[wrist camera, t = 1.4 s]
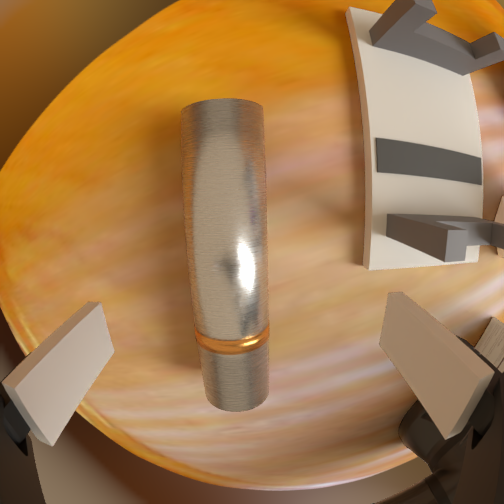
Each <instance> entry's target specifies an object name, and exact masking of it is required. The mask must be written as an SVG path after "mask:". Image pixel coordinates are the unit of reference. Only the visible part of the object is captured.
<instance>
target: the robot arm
mask: <svg viewBox="0 0 504 504" xmlns="http://www.w3.org/2000/svg"><path fill="white" fill-rule="evenodd" d="M379 345H380V346H381V348H382V349H383V350H384V352H385V353H386V354H387V356H388V357H389V358H390V360H391V361H392V363H393V364H394V365H395V367H396V368H397V369H398V371H399V372H400V374H401V375H402V376H403V378H404V379H405V381H406V382H407V384H408V385H409V386H410V388H411V389H412V391H413V392H414V394H415V395H416V396H417V398H418V399H419V400H418V401H417V402H416V403H415V404H414V405H413V407H412V408H411V409H410V410H409V411H408V413H407V414H406V415H405V417H404V419H403V420H402V422H401V424H400V427H399V436H400V438H401V440H402V442H403V444H404V445H405V446H406V447H407V448H409V449H410V450H411V451H413V452H414V453H415V454H416V455H417V456H418V457H420V458H421V459H423V460H424V461H425V462H426V463H427V464H428V466H429V468H430V470H431V472H432V474H431V475H430V476H428V477H426V478H425V479H423V480H421V481H419V482H417V483H416V484H414V485H412V486H411V487H408V488H406V489H405V490H403V491H401V492H399V493H397V494H394V495H392V496H390V497H388V498H386V499H384V500H382V501H379V502H377V503H372V504H504V372H503V373H501V372H500V371H499V370H498V369H497V368H496V367H495V366H494V365H493V364H492V363H491V362H490V361H489V360H487V359H486V358H485V357H484V356H483V355H482V354H480V352H479V351H477V350H476V349H474V347H473V346H472V345H471V344H469V343H468V342H467V341H466V340H464V339H462V338H460V337H458V336H455V335H454V334H453V333H451V332H450V331H449V330H448V329H447V328H446V327H444V326H443V325H442V324H441V323H440V322H439V321H437V320H436V319H435V318H434V317H433V316H431V315H430V314H429V313H428V312H427V311H425V310H424V309H423V308H422V307H420V306H419V305H418V304H417V303H415V302H414V301H413V300H412V299H410V298H409V297H408V296H407V295H405V294H404V293H403V292H394V293H388V298H387V305H386V311H385V317H384V322H383V327H382V332H381V337H380V342H379ZM114 352H115V351H114V348H113V345H112V341H111V338H110V334H109V331H108V327H107V324H106V320H105V316H104V312H103V308H102V304H101V302H88V303H86V304H85V305H84V306H83V307H82V308H80V309H79V310H78V311H77V312H76V313H75V314H74V315H72V316H71V317H70V318H69V319H68V320H67V321H66V322H64V323H63V324H62V325H61V326H60V327H59V328H58V329H57V330H55V331H54V332H53V333H52V334H51V335H50V336H49V337H48V338H47V339H46V340H44V341H43V342H42V343H41V344H40V345H39V346H38V347H37V348H36V349H35V350H34V351H33V352H31V353H29V354H28V355H27V356H26V357H25V358H24V359H23V361H22V362H20V363H19V364H18V365H17V367H15V368H14V369H13V370H12V371H11V372H10V373H9V374H8V375H7V376H6V377H5V378H4V379H3V380H2V381H1V382H0V504H46V503H45V500H44V496H43V493H42V489H41V485H40V481H39V477H38V473H37V469H36V464H35V459H34V453H33V447H32V441H31V438H30V437H29V435H28V433H29V431H30V430H32V432H33V433H34V435H35V436H36V437H37V438H38V440H40V441H42V442H44V443H46V444H48V445H51V446H53V445H54V444H55V442H56V440H57V439H58V437H59V435H60V434H61V432H62V430H63V429H64V427H65V425H66V424H67V422H68V421H69V419H70V417H71V416H72V414H73V413H74V411H75V410H76V408H77V407H78V405H79V404H80V402H81V400H82V399H83V397H84V396H85V394H86V393H87V391H88V390H89V388H90V387H91V385H92V384H93V382H94V381H95V379H96V378H97V376H98V375H99V374H100V372H101V371H102V369H103V368H104V366H105V365H106V363H107V362H108V361H109V359H110V358H111V356H112V355H113V353H114Z"/></svg>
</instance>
